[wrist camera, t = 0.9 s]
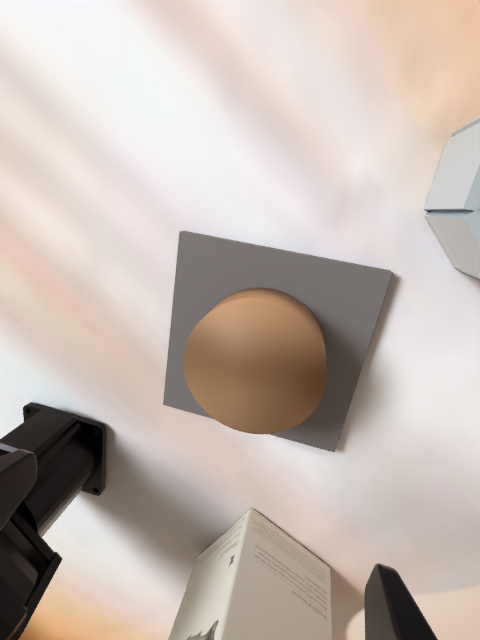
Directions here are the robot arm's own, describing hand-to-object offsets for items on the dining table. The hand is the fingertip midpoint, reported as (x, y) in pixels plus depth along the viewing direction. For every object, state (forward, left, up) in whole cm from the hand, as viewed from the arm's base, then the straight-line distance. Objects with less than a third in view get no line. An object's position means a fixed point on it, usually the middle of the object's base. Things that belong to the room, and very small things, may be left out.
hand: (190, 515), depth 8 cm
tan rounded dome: (0, 0, -11) cm, 11 cm away
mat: (0, 0, -12) cm, 12 cm away
